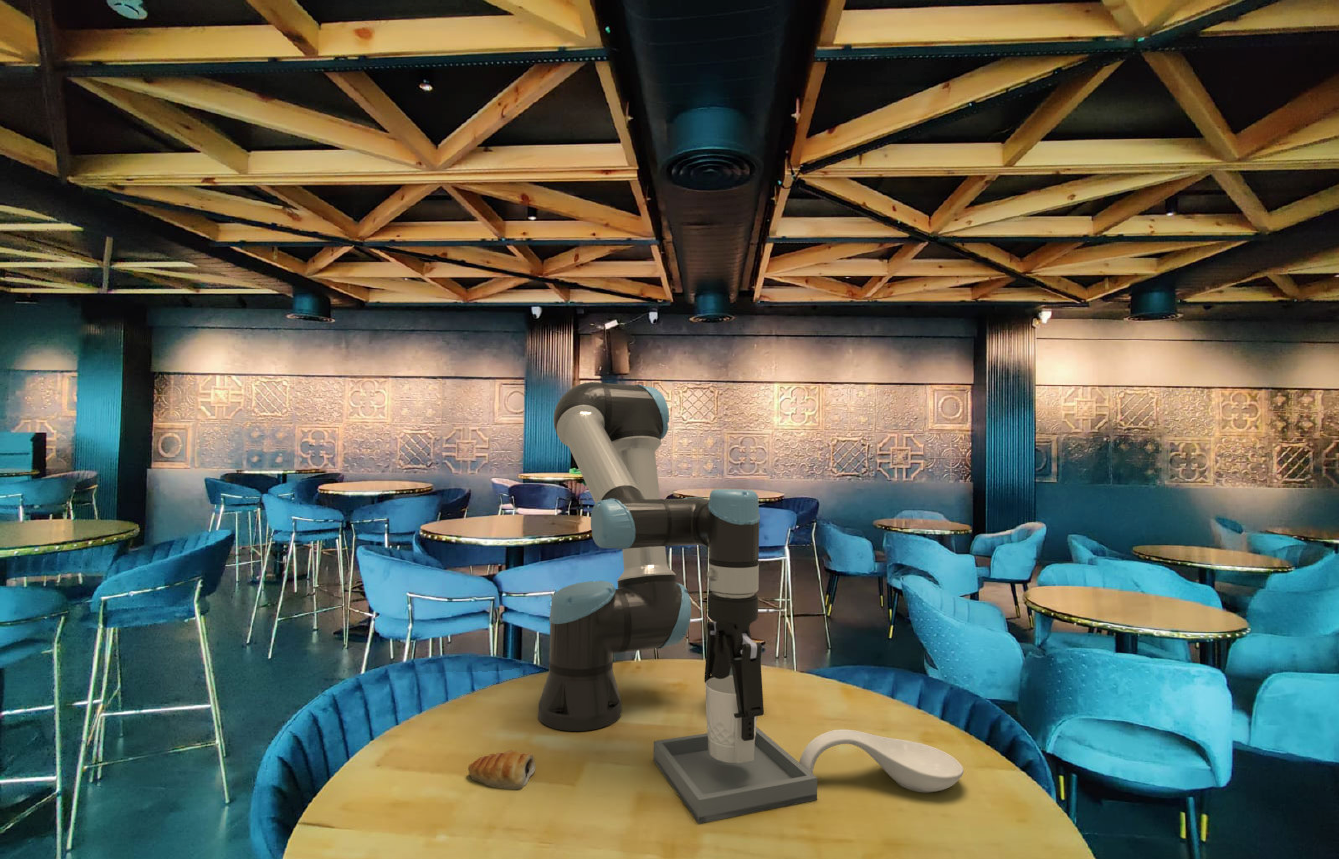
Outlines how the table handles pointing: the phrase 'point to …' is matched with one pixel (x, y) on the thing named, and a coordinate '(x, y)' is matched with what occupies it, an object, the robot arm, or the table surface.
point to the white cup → (722, 718)
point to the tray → (732, 778)
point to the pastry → (503, 769)
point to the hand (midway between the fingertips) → (731, 748)
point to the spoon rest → (893, 759)
